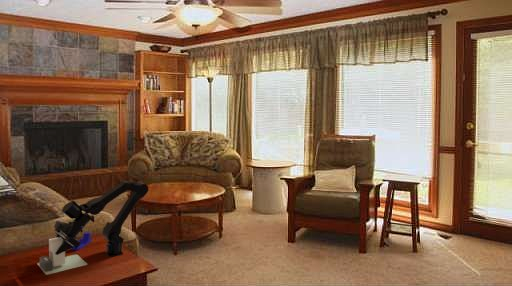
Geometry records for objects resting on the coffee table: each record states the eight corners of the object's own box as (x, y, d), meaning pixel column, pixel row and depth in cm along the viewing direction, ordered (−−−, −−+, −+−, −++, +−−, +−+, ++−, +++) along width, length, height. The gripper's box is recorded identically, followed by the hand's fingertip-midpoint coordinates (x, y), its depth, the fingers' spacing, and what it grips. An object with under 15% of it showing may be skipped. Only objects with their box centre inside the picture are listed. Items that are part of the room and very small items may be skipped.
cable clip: (82, 242, 226) (82, 232, 225) (90, 243, 225) (90, 233, 224) (69, 251, 214) (69, 240, 213) (77, 252, 213) (77, 241, 212)
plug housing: (60, 259, 200) (60, 236, 198) (65, 263, 196) (64, 240, 194) (49, 262, 197) (48, 239, 195) (53, 266, 192) (53, 243, 191)
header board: (76, 256, 209) (76, 246, 208) (87, 266, 199) (87, 256, 198) (36, 265, 197) (36, 254, 196) (46, 276, 187) (46, 265, 186)
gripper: (58, 209, 202) (33, 236, 197) (72, 220, 189) (46, 249, 183) (75, 222, 209) (52, 248, 203) (90, 233, 195) (65, 262, 189)
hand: (53, 252), depth 194 cm, fingers closed on plug housing, 6 cm apart
